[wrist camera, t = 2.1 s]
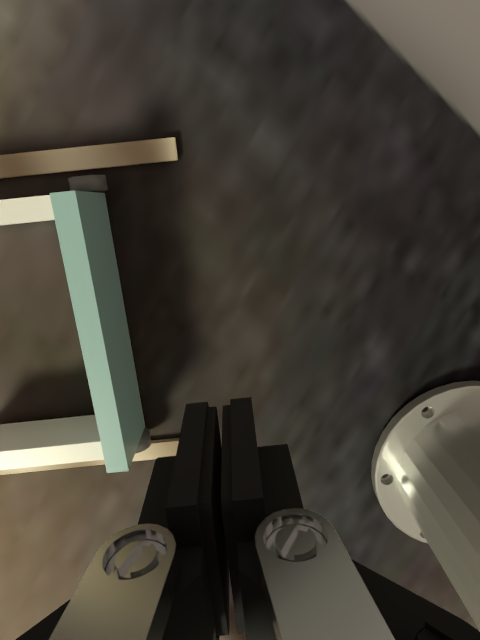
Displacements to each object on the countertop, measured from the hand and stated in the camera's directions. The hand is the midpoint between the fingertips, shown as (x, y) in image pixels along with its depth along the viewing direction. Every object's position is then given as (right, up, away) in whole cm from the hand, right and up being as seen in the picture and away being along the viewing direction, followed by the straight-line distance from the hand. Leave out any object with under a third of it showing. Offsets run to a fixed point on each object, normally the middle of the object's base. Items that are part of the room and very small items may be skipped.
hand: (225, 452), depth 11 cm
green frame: (-12, +3, +16) cm, 20 cm away
